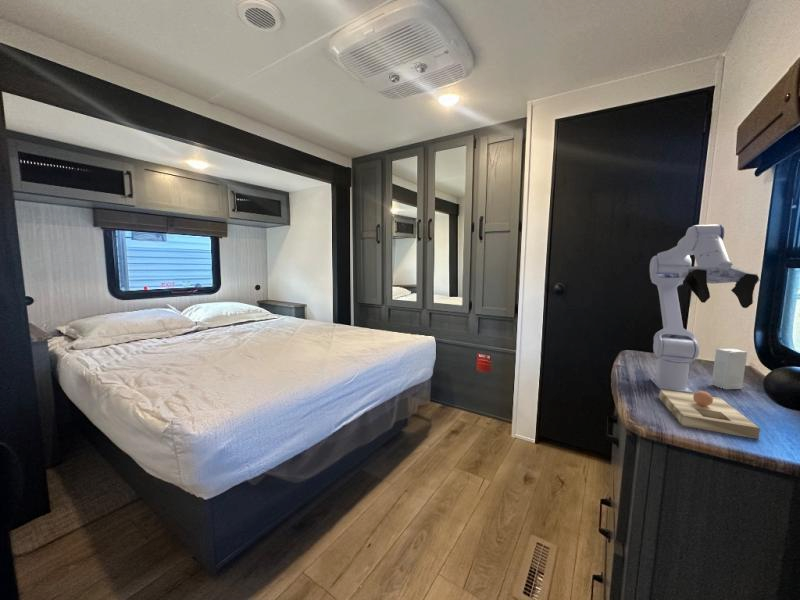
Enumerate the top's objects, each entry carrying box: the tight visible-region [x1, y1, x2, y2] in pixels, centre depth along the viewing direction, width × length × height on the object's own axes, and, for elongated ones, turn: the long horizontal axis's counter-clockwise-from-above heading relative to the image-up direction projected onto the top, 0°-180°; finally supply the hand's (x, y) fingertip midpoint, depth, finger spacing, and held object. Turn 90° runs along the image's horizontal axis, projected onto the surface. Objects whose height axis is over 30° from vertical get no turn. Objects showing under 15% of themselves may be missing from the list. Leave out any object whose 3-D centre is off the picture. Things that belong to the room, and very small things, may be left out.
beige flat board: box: [658, 388, 761, 440], centre depth 80 cm, size 18×13×2 cm
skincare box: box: [711, 348, 748, 390], centre depth 99 cm, size 6×4×12 cm
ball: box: [693, 390, 713, 406], centre depth 80 cm, size 4×4×4 cm
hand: (726, 302), depth 72 cm, fingers open, 7 cm apart
